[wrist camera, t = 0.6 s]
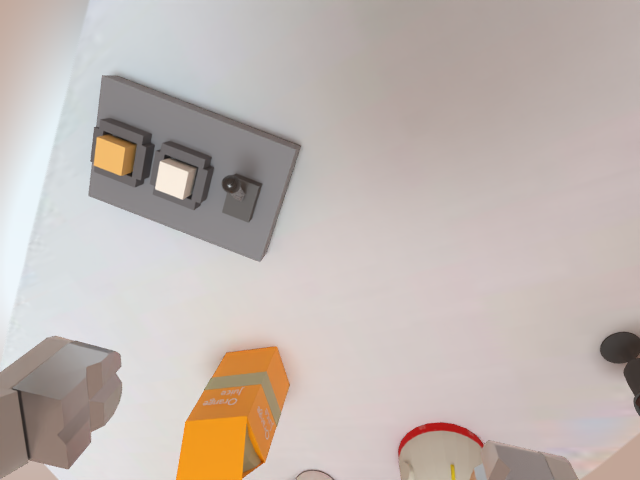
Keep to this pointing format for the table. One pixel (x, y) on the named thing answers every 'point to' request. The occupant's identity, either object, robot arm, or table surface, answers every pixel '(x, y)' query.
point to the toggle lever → (233, 187)
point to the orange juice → (234, 417)
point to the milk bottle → (313, 476)
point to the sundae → (625, 359)
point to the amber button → (114, 154)
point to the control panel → (198, 151)
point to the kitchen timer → (439, 453)
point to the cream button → (175, 178)
